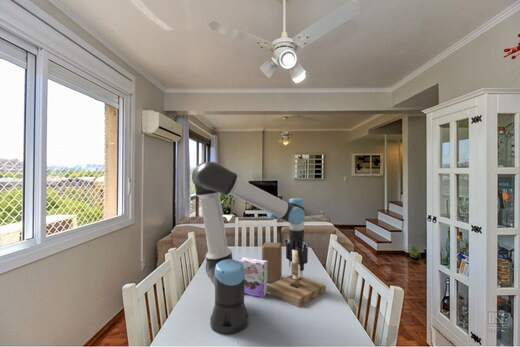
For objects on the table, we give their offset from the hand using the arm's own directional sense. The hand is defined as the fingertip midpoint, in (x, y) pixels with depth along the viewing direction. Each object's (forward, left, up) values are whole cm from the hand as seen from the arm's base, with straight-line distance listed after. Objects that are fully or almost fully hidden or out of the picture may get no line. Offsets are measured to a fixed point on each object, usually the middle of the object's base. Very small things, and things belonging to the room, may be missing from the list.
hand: (296, 275), depth 131 cm
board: (0, 0, -8) cm, 8 cm away
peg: (0, 0, -5) cm, 5 cm away
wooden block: (+2, +19, -9) cm, 21 cm away
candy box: (-17, +14, -9) cm, 24 cm away
